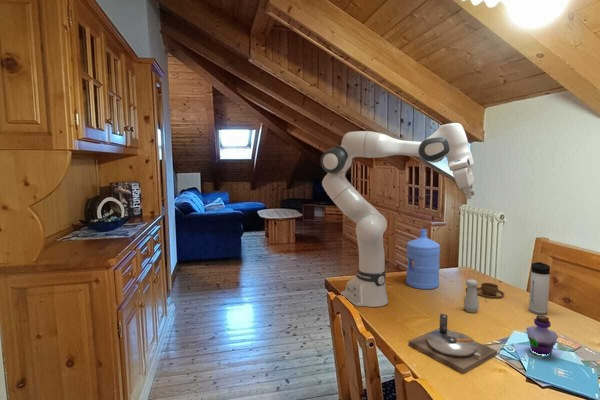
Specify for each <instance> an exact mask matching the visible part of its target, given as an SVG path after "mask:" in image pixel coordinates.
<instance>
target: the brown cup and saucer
mask: <svg viewBox="0 0 600 400" xmlns="http://www.w3.org/2000/svg"><path fill="white" fill-rule="evenodd" d="M467 288H468V287H465V293H466V292H467ZM476 289H477V296H478V297H481V298H486V299H491V300H492V299H493V300H494V299H495V300H497V299H498V300H500V299H502V298H503V297H504V296H505V293H504V291H502V290H500V289H499V286H498V284H496V283H492V282H482V283H481V284H480V287H478V286H477V287H476ZM480 291H481V292H482V293H480ZM483 293H484V294H483ZM497 293H498V294H499V296H498V295H497V296H496V294H497ZM494 295H495V296H494ZM487 302H488V301H487V300H485V303H487Z"/></svg>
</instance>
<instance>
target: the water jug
mask: <svg viewBox="0 0 600 400" xmlns="http://www.w3.org/2000/svg"><path fill="white" fill-rule="evenodd" d="M419 230H420V231H419V232H420V233H419V237H417V238H415V239H413V240H410V241H408V242H406V243H407V244H406V257H407V268H406V279H405V282H406V284H407V285H408V286H409V287H410V288H411V287H412V288H414V289H418V288H419V290H420V289H421V290H433V289H437V288H438V287H439V285H440V253H441V248H440V247H441V245H440V243H438V242H436V241H434V240H432V239H430V238H428V237H427V235H428V232H427V229H426V228H420V229H419ZM413 263H414V264H413ZM412 264H413V266H412Z"/></svg>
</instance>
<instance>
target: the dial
mask: <svg viewBox="0 0 600 400" xmlns="http://www.w3.org/2000/svg"><path fill="white" fill-rule="evenodd" d="M439 328H440V330H438V331H433V330H432V331H433V332H431V331H430V332H431V333H429V334H428V336H427V343H428V345H429V346H430V347H431V348H432V349H433V350H435V351H436V352H438V353H441V354H444V355H447V356H451V357H469V356H472V355H474V354H475V353H476V352H477V343H476V342H477V341H476V342H475V340H474V339H473V338H472V337H471V336H468V335H467V334H465V333H462V332H458V331H456V330H455V331H453V330H450V329H448V315H447V314H446V313H445V314H444V313H441V314H439ZM447 329H448V330H447ZM449 330H450V331H449Z"/></svg>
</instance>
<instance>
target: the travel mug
mask: <svg viewBox="0 0 600 400" xmlns="http://www.w3.org/2000/svg"><path fill="white" fill-rule="evenodd" d="M530 272H531V273H530V287H529V303H528V305H529V306H528V311H529V312H530V313H532V314H534V315H536V316H537V315H541V316H546V315H548V313H549V311H548V310H549V296H550V295H549V294H550V293H549V292H550V281H551V279H550V277H551V276H550V275H551V266H550V265H549V264H547V263H544V262H541V261H536V262H533V263H531V271H530Z"/></svg>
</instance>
